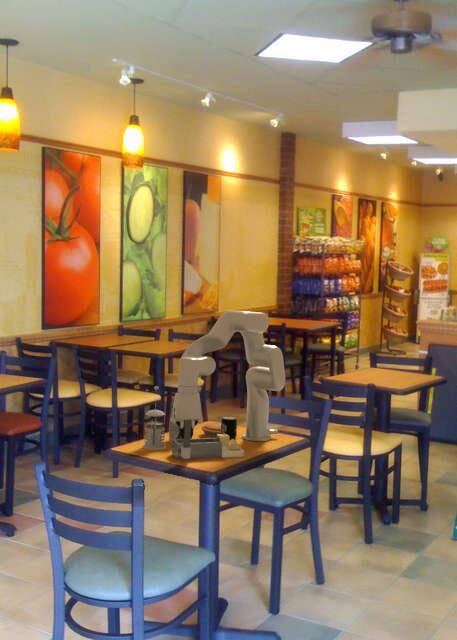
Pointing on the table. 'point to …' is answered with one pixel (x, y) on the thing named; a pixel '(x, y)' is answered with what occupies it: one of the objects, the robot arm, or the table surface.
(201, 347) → the robot arm
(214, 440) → the slot block
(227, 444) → the tan cube
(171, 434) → the coffee box
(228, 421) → the beverage can
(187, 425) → the grey rectangular bar
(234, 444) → the wooden cube
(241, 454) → the tray
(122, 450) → the table surface
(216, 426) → the pie
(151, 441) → the french press
